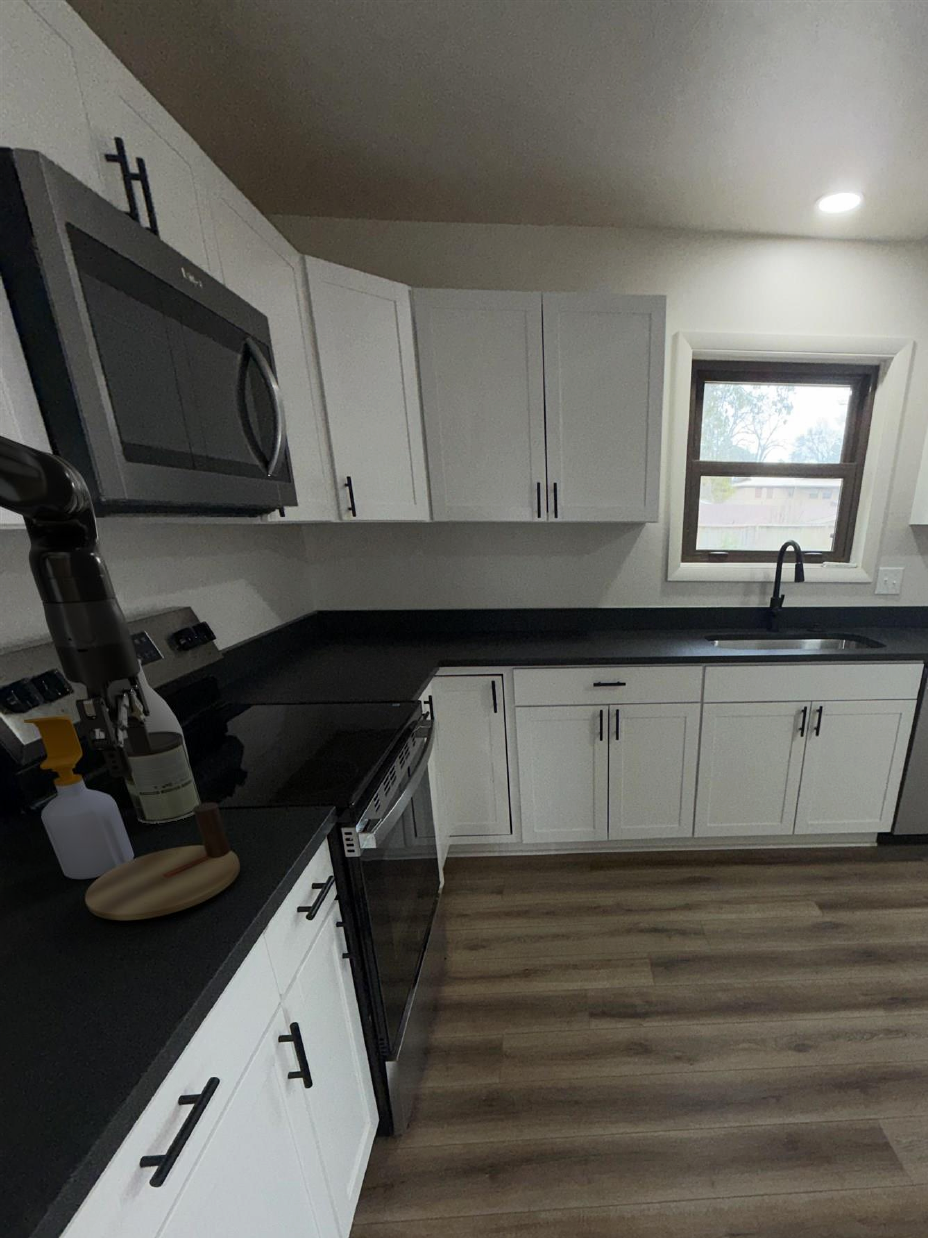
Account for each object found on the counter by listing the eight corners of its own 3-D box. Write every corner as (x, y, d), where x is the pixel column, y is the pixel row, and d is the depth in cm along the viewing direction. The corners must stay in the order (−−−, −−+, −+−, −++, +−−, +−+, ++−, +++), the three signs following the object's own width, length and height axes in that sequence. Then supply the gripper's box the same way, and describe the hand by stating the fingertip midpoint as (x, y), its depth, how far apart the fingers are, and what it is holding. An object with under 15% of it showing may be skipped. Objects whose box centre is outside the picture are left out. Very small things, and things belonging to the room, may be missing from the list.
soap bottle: (56, 886, 95) (-9, 728, 85) (73, 858, 103) (15, 710, 92) (128, 873, 98) (73, 720, 88) (139, 847, 106) (90, 703, 96)
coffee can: (122, 822, 114) (96, 748, 108) (169, 798, 123) (147, 729, 117) (172, 827, 112) (148, 752, 106) (215, 803, 121) (195, 732, 116)
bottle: (156, 803, 122) (114, 670, 111) (118, 793, 126) (74, 664, 115) (209, 781, 131) (175, 657, 120) (172, 773, 135) (136, 652, 124)
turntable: (51, 912, 86) (26, 854, 83) (161, 846, 104) (144, 795, 100) (175, 927, 84) (155, 867, 80) (267, 856, 101) (254, 804, 97)
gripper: (79, 629, 82) (118, 749, 89) (27, 651, 70) (77, 788, 76) (146, 626, 84) (180, 743, 91) (107, 647, 72) (150, 780, 78)
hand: (133, 763), depth 83 cm, fingers open, 8 cm apart
